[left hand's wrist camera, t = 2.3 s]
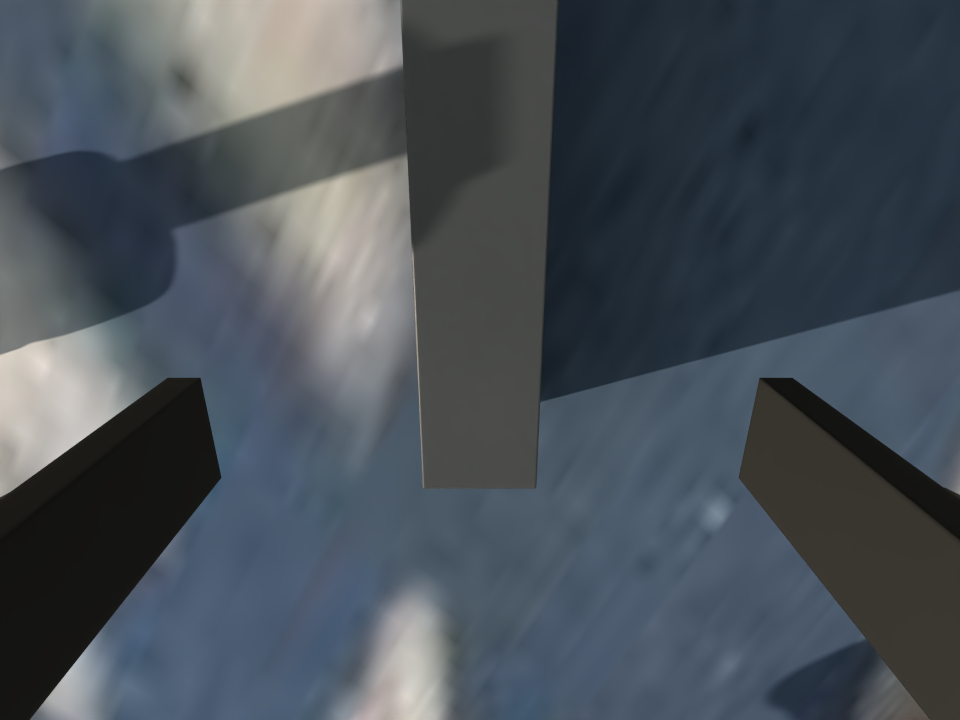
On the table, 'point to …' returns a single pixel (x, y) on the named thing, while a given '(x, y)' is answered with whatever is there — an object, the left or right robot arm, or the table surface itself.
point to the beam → (479, 230)
